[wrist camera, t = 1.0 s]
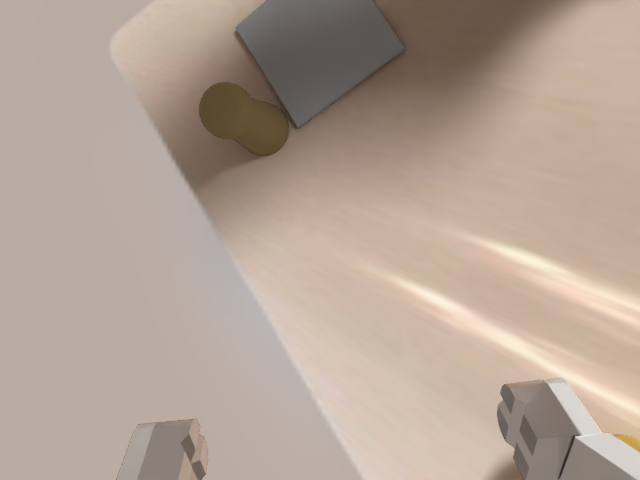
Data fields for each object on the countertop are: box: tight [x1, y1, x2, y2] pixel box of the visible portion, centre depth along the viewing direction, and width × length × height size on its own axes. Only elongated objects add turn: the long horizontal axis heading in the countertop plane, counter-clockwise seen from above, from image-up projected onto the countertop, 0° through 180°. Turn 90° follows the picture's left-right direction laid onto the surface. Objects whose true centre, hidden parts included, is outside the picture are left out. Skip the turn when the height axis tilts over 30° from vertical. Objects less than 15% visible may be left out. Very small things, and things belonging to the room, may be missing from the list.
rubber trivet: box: [235, 0, 405, 128], centre depth 47 cm, size 14×14×1 cm
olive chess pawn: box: [199, 82, 289, 156], centre depth 44 cm, size 6×6×11 cm
